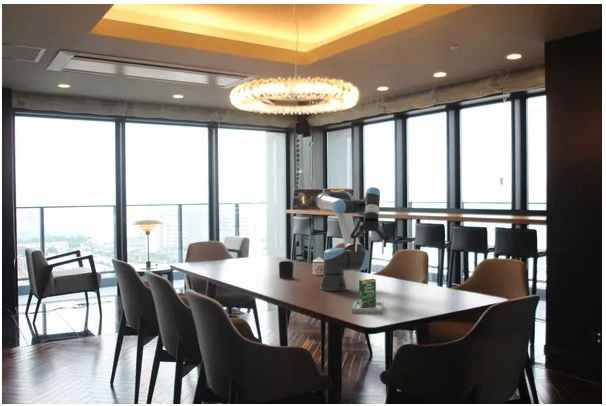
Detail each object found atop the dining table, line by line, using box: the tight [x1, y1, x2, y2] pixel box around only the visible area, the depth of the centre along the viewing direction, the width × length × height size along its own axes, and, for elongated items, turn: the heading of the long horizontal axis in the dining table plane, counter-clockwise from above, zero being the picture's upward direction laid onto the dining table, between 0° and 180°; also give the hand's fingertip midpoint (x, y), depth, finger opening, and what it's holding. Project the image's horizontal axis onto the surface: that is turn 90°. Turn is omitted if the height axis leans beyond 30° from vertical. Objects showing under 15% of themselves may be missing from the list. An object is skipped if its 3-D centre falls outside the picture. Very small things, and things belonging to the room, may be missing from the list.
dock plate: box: [351, 300, 384, 315], centre depth 243 cm, size 14×16×2 cm
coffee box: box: [358, 278, 377, 308], centre depth 243 cm, size 8×3×13 cm, turn 115°
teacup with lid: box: [312, 256, 324, 276], centre depth 352 cm, size 12×9×12 cm
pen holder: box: [278, 260, 294, 279], centre depth 336 cm, size 9×9×10 cm
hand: (369, 251), depth 263 cm, fingers open, 13 cm apart
